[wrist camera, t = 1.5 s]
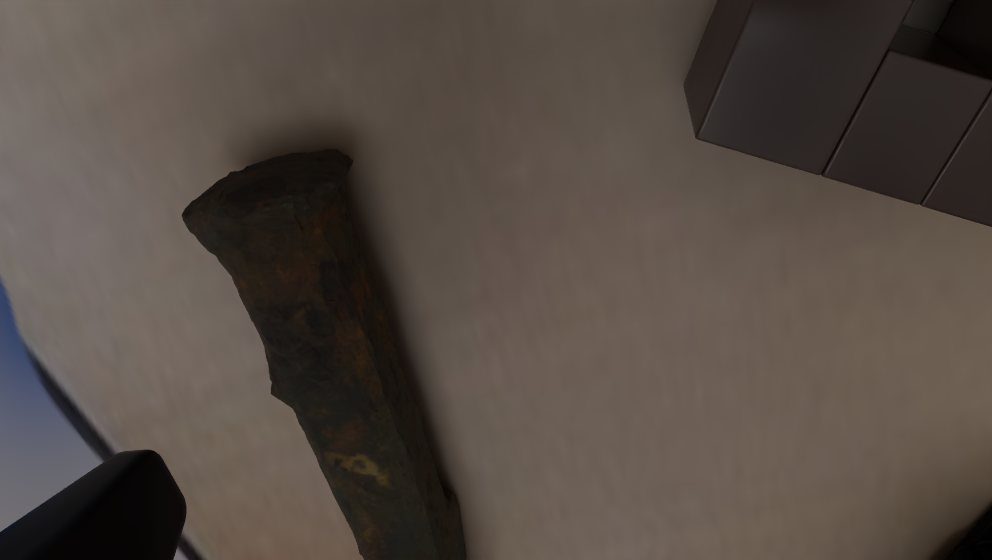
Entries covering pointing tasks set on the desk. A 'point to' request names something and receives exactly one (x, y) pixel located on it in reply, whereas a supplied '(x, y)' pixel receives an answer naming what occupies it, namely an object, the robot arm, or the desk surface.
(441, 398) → the desk surface
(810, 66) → the block
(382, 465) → the hand tool
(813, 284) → the desk surface
